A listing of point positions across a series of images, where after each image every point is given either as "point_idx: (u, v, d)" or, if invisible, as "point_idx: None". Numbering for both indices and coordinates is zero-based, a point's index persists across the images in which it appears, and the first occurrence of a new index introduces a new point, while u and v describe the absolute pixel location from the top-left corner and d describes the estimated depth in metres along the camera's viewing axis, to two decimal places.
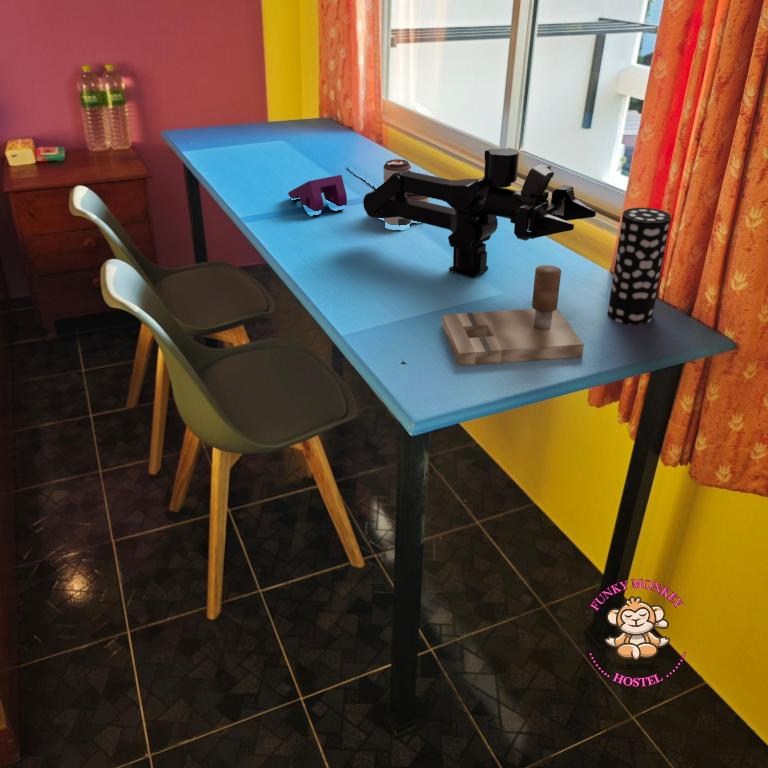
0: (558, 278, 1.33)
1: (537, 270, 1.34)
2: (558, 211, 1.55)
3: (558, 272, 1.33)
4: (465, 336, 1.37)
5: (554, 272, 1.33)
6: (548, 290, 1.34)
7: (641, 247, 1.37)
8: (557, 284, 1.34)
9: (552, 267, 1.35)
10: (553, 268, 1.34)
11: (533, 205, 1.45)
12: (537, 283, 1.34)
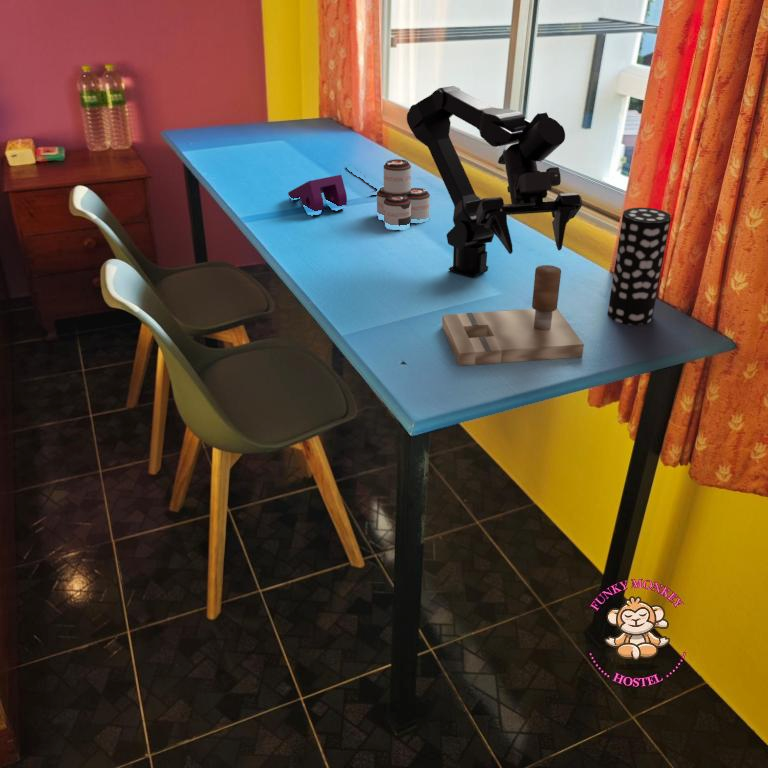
0: (558, 278, 1.33)
1: (537, 270, 1.34)
2: (555, 211, 1.45)
3: (558, 272, 1.33)
4: (465, 336, 1.37)
5: (554, 272, 1.33)
6: (548, 290, 1.34)
7: (641, 247, 1.37)
8: (557, 284, 1.34)
9: (552, 267, 1.35)
10: (553, 268, 1.34)
11: (499, 206, 1.39)
12: (537, 283, 1.34)
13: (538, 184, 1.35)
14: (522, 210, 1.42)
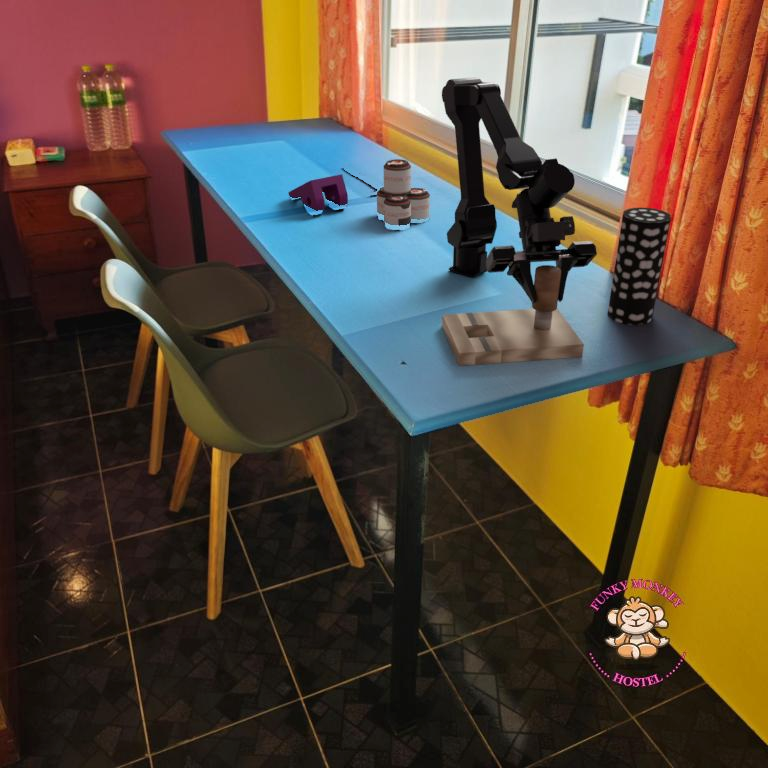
0: (558, 278, 1.33)
1: (537, 270, 1.34)
2: None
3: (558, 272, 1.33)
4: (465, 336, 1.37)
5: (554, 272, 1.33)
6: (548, 290, 1.34)
7: (641, 247, 1.37)
8: (557, 284, 1.34)
9: (552, 267, 1.35)
10: (553, 268, 1.34)
11: (510, 256, 1.34)
12: (537, 283, 1.34)
13: (551, 234, 1.30)
14: (534, 258, 1.37)
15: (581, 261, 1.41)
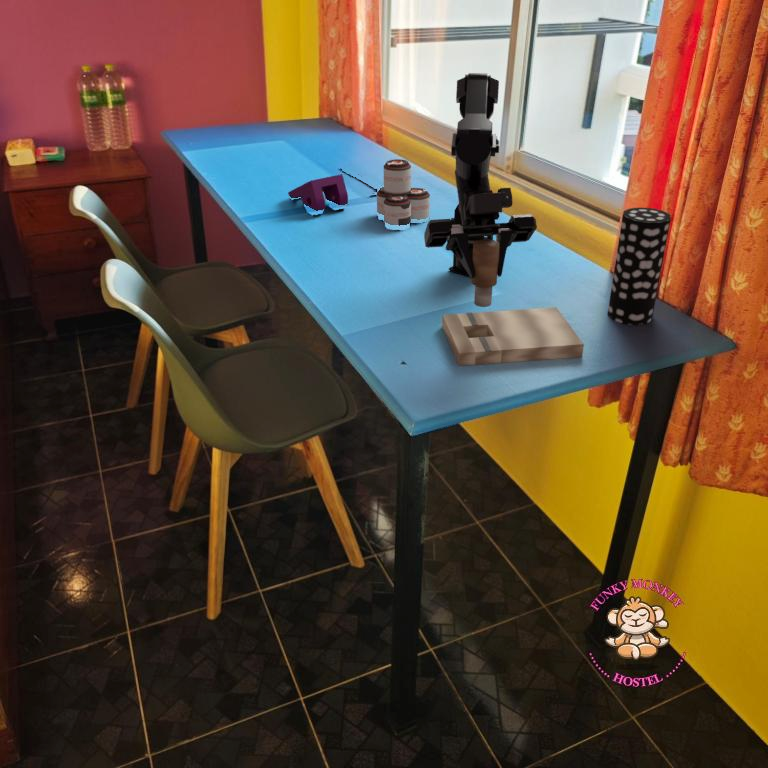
0: (496, 252, 1.29)
1: (475, 244, 1.30)
2: None
3: (496, 246, 1.29)
4: (465, 336, 1.37)
5: (492, 246, 1.29)
6: (486, 265, 1.29)
7: (641, 247, 1.37)
8: (495, 258, 1.30)
9: (491, 241, 1.31)
10: (491, 242, 1.30)
11: (447, 229, 1.30)
12: (475, 258, 1.30)
13: (488, 206, 1.26)
14: (473, 232, 1.33)
15: (522, 236, 1.37)
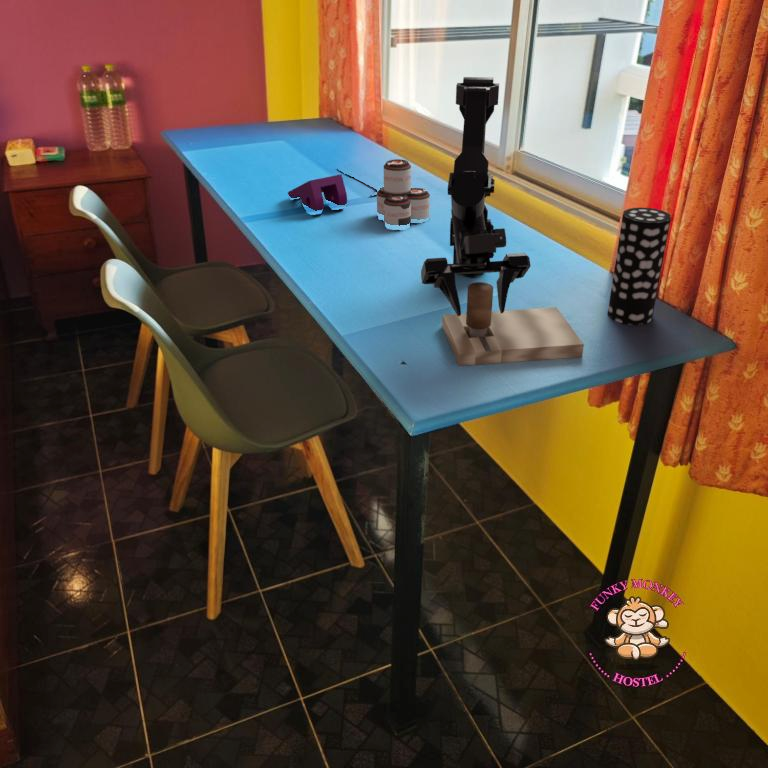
0: (490, 295, 1.33)
1: (469, 287, 1.34)
2: None
3: (490, 289, 1.33)
4: (465, 336, 1.37)
5: (486, 289, 1.33)
6: (480, 308, 1.34)
7: (641, 247, 1.37)
8: (489, 301, 1.34)
9: (485, 284, 1.35)
10: (486, 285, 1.35)
11: (442, 268, 1.33)
12: (469, 300, 1.34)
13: (482, 247, 1.30)
14: (468, 270, 1.36)
15: None
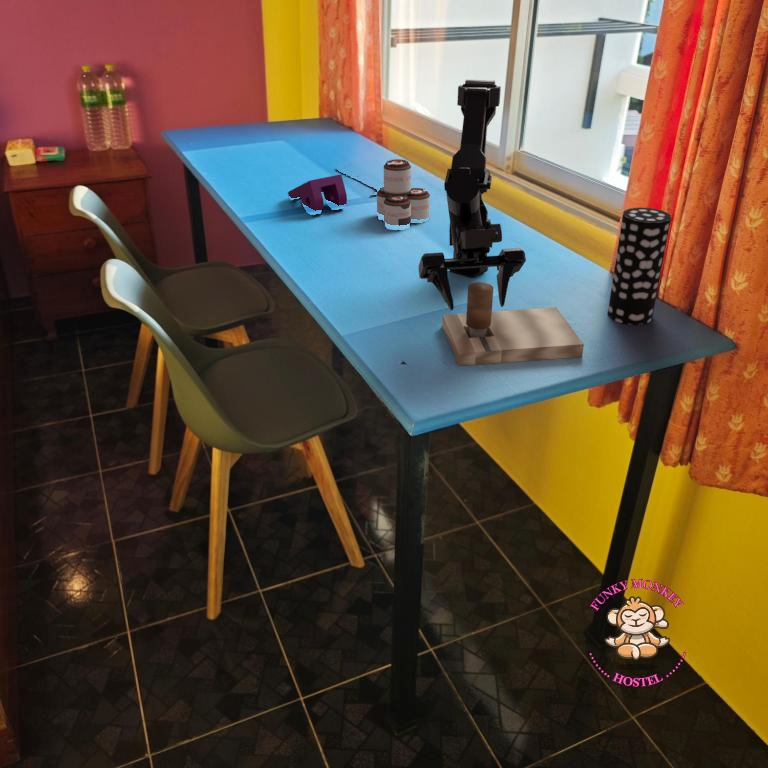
0: (490, 296, 1.33)
1: (469, 287, 1.34)
2: None
3: (490, 290, 1.33)
4: (465, 336, 1.37)
5: (486, 290, 1.33)
6: (480, 308, 1.34)
7: (641, 247, 1.37)
8: (489, 301, 1.34)
9: (485, 284, 1.35)
10: (486, 285, 1.35)
11: (439, 263, 1.36)
12: (469, 301, 1.34)
13: (478, 242, 1.32)
14: (465, 265, 1.39)
15: None
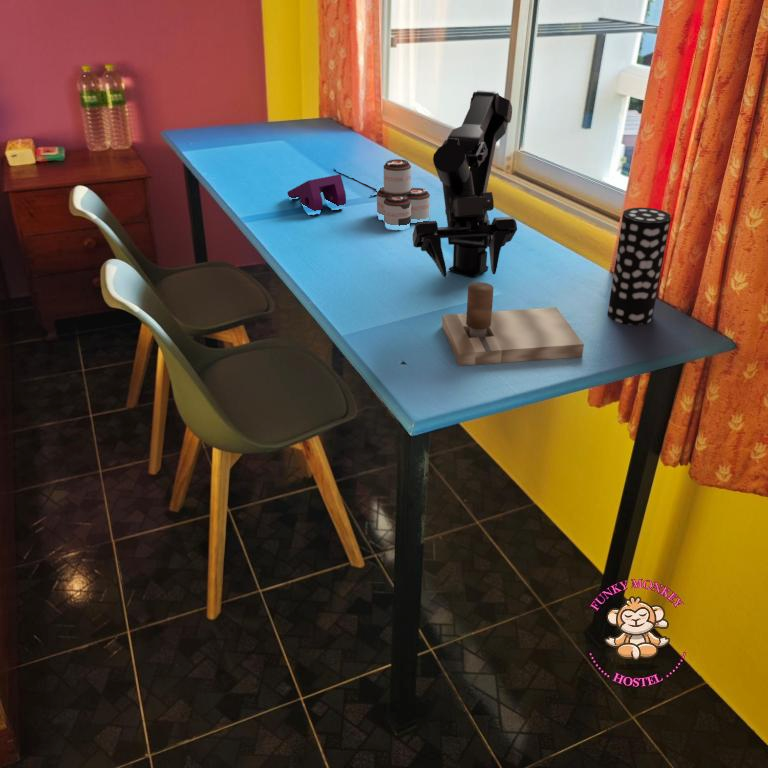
0: (490, 296, 1.33)
1: (469, 287, 1.34)
2: None
3: (490, 290, 1.33)
4: (465, 336, 1.37)
5: (486, 290, 1.33)
6: (480, 308, 1.34)
7: (641, 247, 1.37)
8: (489, 301, 1.34)
9: (485, 284, 1.35)
10: (486, 285, 1.35)
11: (433, 230, 1.39)
12: (469, 301, 1.34)
13: (470, 209, 1.36)
14: (457, 233, 1.43)
15: None
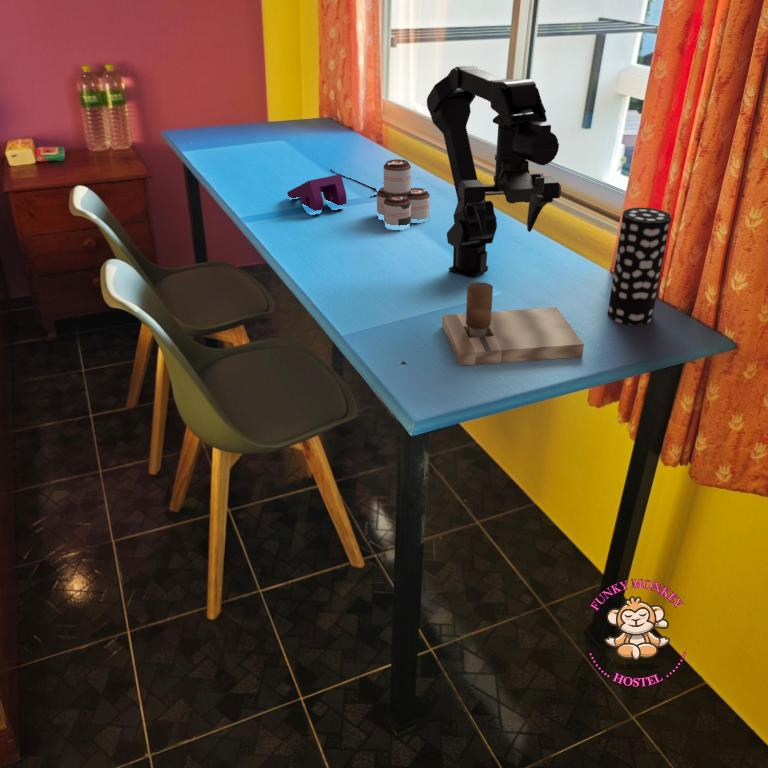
0: (489, 295, 1.33)
1: (469, 287, 1.34)
2: None
3: (489, 289, 1.33)
4: (465, 336, 1.37)
5: (485, 289, 1.33)
6: (480, 308, 1.34)
7: (641, 247, 1.37)
8: (489, 301, 1.34)
9: (484, 284, 1.35)
10: (485, 285, 1.35)
11: (480, 200, 1.44)
12: (469, 300, 1.34)
13: (520, 198, 1.40)
14: (502, 193, 1.47)
15: None
